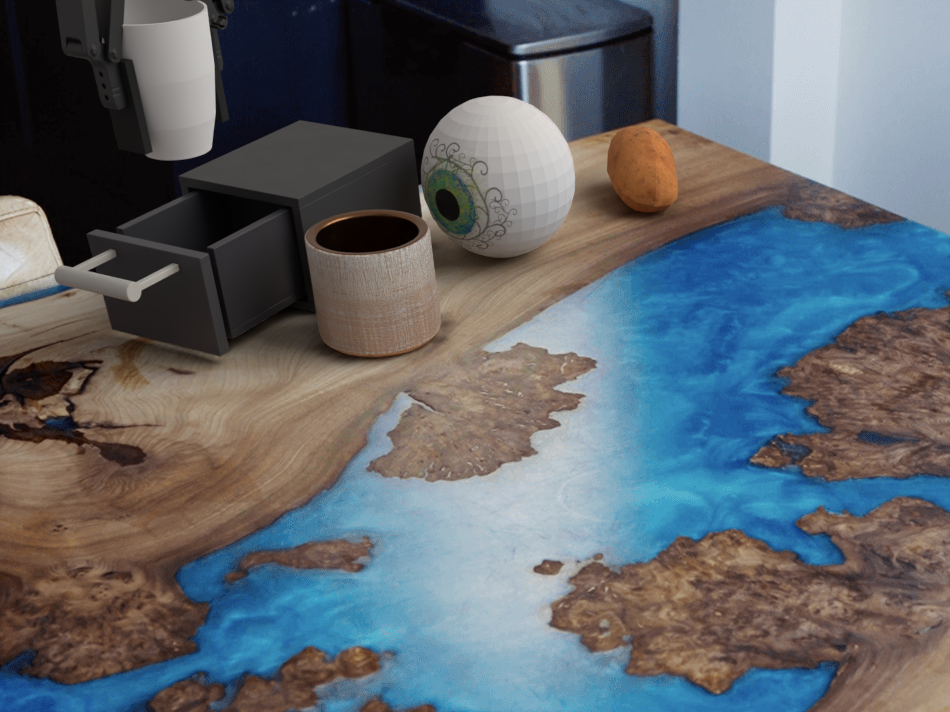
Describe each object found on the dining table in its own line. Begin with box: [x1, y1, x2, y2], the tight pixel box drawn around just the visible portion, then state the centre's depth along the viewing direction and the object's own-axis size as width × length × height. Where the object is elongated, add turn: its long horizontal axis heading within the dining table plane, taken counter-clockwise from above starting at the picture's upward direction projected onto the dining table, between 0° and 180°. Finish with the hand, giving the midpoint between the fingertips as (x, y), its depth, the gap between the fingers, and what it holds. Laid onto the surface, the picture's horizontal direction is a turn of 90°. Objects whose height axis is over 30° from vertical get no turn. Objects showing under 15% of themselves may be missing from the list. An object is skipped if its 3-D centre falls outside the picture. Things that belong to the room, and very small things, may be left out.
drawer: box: [53, 189, 307, 357], centre depth 125 cm, size 23×13×9 cm, turn 153°
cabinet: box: [178, 119, 423, 314], centre depth 137 cm, size 18×14×11 cm
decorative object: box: [420, 95, 576, 259], centre depth 138 cm, size 15×15×15 cm
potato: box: [606, 125, 679, 213], centre depth 151 cm, size 7×13×7 cm, turn 10°
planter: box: [305, 209, 442, 359], centre depth 124 cm, size 11×11×10 cm
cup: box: [102, 0, 216, 161], centre depth 105 cm, size 8×8×10 cm
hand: (175, 133), depth 107 cm, fingers closed on cup, 8 cm apart
